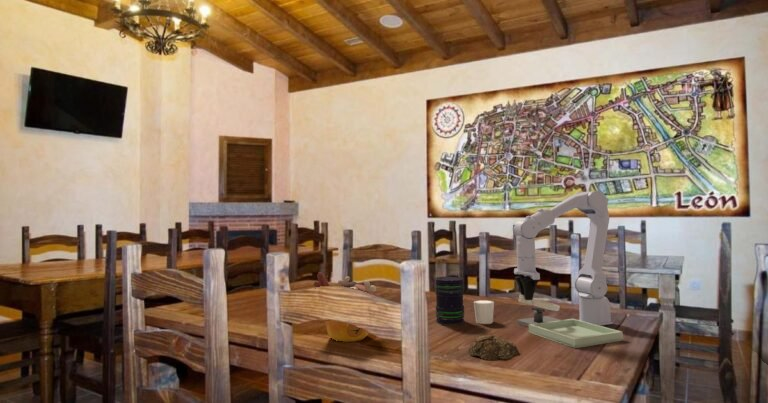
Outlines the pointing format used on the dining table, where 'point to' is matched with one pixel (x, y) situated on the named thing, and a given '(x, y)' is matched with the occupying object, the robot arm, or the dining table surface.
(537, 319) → the base
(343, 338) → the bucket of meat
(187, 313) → the dining table surface
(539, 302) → the ring
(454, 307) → the storage jar
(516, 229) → the robot arm
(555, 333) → the tray
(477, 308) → the shot glass
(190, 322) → the dining table surface
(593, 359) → the dining table surface
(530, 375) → the dining table surface
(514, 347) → the brown lumpy mound
